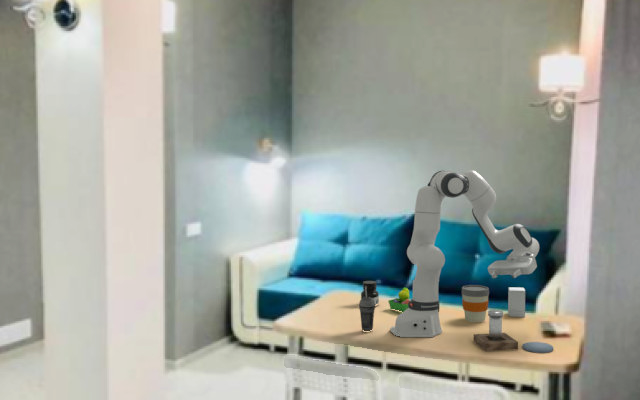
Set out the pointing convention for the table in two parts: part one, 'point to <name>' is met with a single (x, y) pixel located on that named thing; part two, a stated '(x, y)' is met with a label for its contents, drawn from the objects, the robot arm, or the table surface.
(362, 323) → the beverage cup
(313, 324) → the table surface
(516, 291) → the supplement box
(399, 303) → the fruit basket
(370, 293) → the ink bottle
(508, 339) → the walnut socket block
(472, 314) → the reusable coffee cup
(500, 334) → the steel plug
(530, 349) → the slate rubber mat
